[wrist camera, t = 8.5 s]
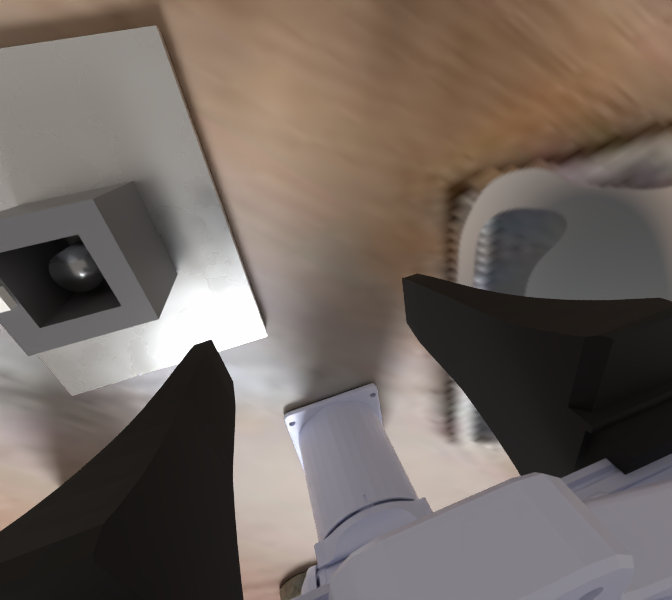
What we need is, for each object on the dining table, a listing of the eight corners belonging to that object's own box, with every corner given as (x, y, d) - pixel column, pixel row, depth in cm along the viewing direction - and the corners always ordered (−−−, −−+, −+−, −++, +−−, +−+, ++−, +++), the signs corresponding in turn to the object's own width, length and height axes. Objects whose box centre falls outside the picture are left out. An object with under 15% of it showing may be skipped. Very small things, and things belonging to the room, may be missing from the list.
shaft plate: (266, 328, 22) (272, 370, 18) (79, 385, 20) (41, 444, 16) (161, 31, 14) (132, -8, 10) (-167, 81, 12) (-358, 56, 8)
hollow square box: (177, 274, 18) (156, 324, 13) (81, 299, 17) (22, 362, 12) (133, 180, 15) (87, 201, 10) (17, 205, 14) (-87, 239, 10)
